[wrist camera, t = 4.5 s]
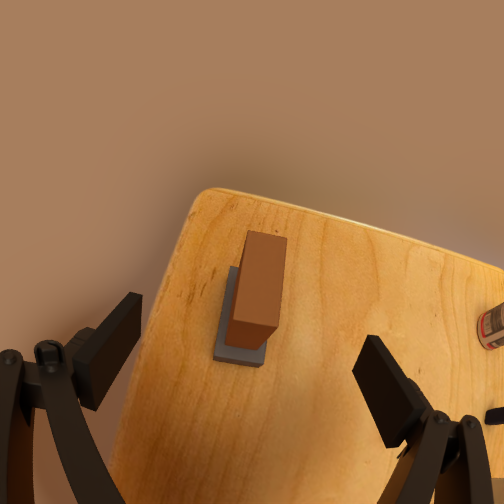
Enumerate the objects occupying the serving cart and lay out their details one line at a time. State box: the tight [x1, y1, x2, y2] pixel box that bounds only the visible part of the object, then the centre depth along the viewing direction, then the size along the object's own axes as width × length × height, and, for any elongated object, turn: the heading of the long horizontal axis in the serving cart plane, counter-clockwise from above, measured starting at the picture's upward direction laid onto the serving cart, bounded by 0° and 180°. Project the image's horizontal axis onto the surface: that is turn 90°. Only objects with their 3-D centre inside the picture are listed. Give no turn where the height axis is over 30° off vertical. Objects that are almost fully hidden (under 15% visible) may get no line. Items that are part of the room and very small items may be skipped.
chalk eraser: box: [213, 230, 287, 367], centre depth 22 cm, size 4×8×10 cm, turn 172°
